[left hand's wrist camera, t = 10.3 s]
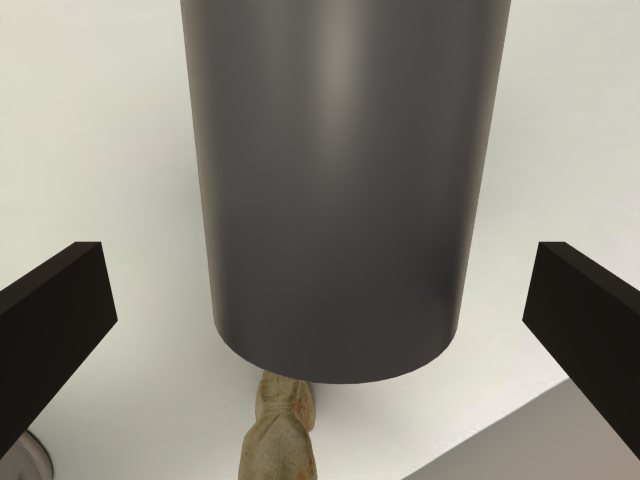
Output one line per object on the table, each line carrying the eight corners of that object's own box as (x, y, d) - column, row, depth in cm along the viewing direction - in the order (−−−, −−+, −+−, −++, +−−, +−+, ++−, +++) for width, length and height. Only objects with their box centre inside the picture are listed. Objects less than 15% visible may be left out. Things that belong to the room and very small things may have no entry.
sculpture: (262, 416, 39) (226, 603, 25) (252, 356, 37) (205, 528, 23) (322, 414, 39) (318, 602, 25) (316, 353, 36) (309, 525, 22)
